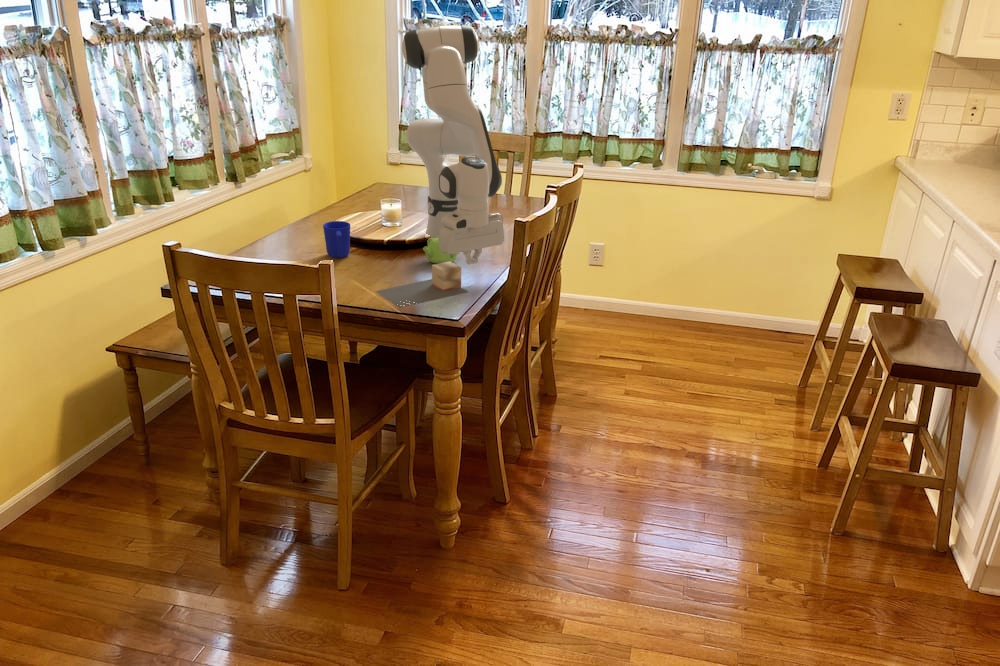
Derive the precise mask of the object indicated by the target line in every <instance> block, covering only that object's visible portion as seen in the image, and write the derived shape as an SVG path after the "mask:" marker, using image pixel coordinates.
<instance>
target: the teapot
mask: <svg viewBox="0 0 1000 666" xmlns="http://www.w3.org/2000/svg"><path fill="white" fill-rule="evenodd" d="M439 239H440V236H438V238H429V239H428V240H426V243H427V245H426V246H424V247H422V251H424V253H425V257H426V259H427V260H428V261H429V263H433V264H439V263H444V262H449V261H450V262H452V263H454V261H455V260H456V259H457V257H458V254H459V253H454V254H448V255H447V254H445V253H443V252H442V251H441V250H440V248H439ZM430 240H432V241H431V242H430Z"/></svg>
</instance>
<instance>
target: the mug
mask: <svg viewBox="0 0 1000 666" xmlns="http://www.w3.org/2000/svg"><path fill="white" fill-rule="evenodd" d="M322 226H323V227H322V228H323V233H324V241H325V247H326V254H327V255H328V256H329V257H330V258H333V259H342V258H346V257H348V256H349V254H350V249H351V248H350V247H351V246H350V245H351V224H350V222H347V221H343V220H334V221H333V220H332V221H328V222H325V223H324V224H323V225H322Z"/></svg>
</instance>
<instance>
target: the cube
mask: <svg viewBox="0 0 1000 666" xmlns="http://www.w3.org/2000/svg"><path fill="white" fill-rule="evenodd" d="M431 279H432V285H433V286H435V287H437V288H438V289H440V290H442V291H447V290H452V289H456V288H460V287H461V288H462V266H459V265H457V264H455V263H454V262H450V261H449V262H444V263H439V264H438V263H433V264H431Z"/></svg>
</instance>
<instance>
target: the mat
mask: <svg viewBox="0 0 1000 666" xmlns="http://www.w3.org/2000/svg"><path fill="white" fill-rule="evenodd" d="M375 293H377V294H379V295H380V296H382V297H383V298H384V297H385V299H386V300H388V301H389V302H390V301H392V302H391V303H392V304H394V303H395V304H394V305H395V306H396V307H397V308H399V309H401V308H404V307H403V305H405V306H406V307H410V306H409V304H406V303H410V304H414V305H418V304H422V303H426V302H431V301H435V300H440V299H444V298H448V297H453V296H456V295H461V294H462V295H463V294H466V293H469V291H468V290H467V289H465V288H463V287H462V286H461V287H460V288H456V289H452V290H447V291H442V290H440V289H438V288H437V287H435V286H433V285H432V278H431V279H430V278H429V279H426V280H421V281H417V282H411V283H407V284H403V285H397V286H394V287H388V288H383V289H379V290H375ZM406 300H407V301H406ZM400 301H401V302H400ZM409 301H410V302H409ZM403 302H405V303H403ZM413 302H415V303H413ZM416 303H417V304H416ZM397 304H398V305H397ZM400 305H402V306H400Z"/></svg>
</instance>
